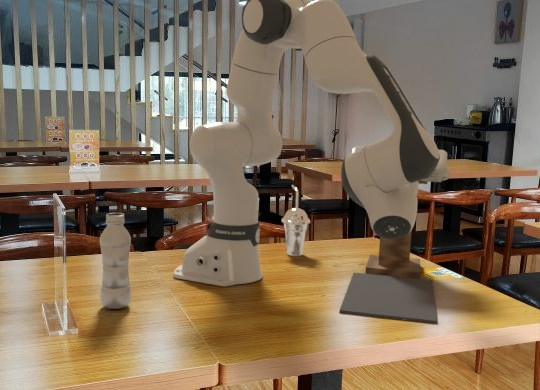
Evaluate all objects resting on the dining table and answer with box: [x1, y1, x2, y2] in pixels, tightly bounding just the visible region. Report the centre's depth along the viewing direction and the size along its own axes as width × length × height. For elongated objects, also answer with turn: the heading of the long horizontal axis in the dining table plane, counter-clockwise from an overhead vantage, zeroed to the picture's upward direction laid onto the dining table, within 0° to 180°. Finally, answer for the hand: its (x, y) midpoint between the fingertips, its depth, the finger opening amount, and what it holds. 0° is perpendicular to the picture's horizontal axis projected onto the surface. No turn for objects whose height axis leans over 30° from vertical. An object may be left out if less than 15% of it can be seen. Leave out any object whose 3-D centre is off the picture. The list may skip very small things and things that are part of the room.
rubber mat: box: [338, 272, 437, 324], centre depth 138 cm, size 20×30×1 cm, turn 166°
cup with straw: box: [281, 184, 311, 257], centre depth 173 cm, size 8×9×20 cm
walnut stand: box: [365, 181, 428, 279], centre depth 158 cm, size 14×14×26 cm
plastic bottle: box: [99, 212, 133, 310], centre depth 123 cm, size 6×7×20 cm
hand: (400, 142), depth 132 cm, fingers closed on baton, 3 cm apart
